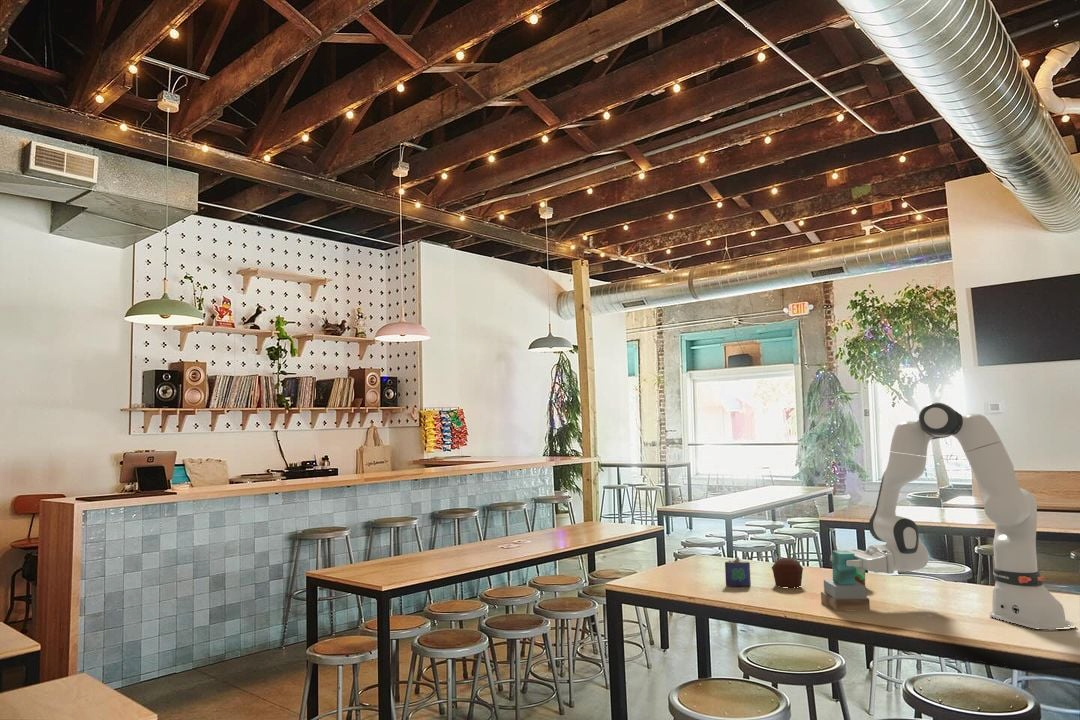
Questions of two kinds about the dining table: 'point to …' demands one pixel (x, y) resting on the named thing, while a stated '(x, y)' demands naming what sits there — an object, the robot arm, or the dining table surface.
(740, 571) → the flask
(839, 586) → the tower top
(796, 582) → the muffin
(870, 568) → the robot arm
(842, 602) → the block
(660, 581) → the dining table surface
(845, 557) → the teal block
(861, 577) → the food container
